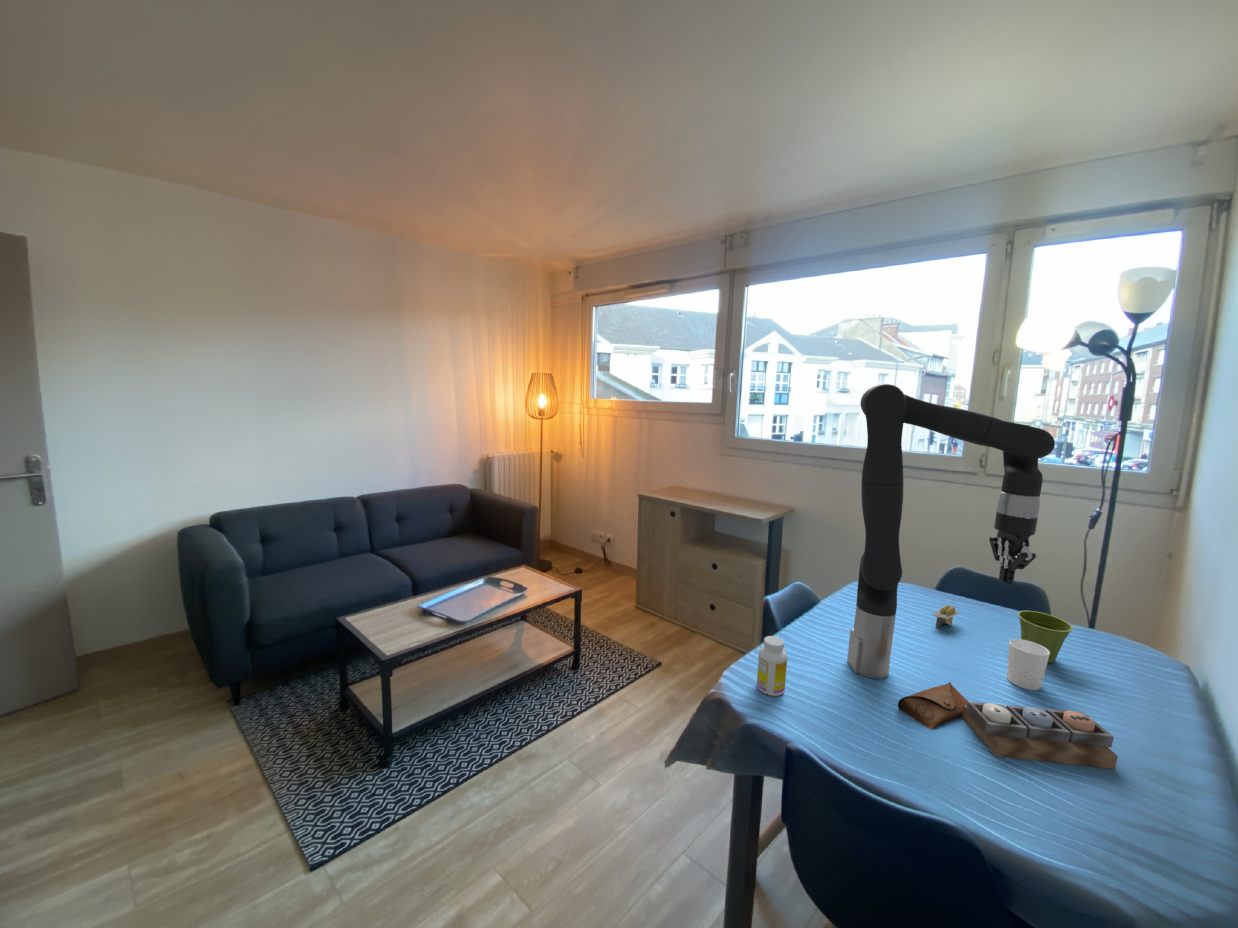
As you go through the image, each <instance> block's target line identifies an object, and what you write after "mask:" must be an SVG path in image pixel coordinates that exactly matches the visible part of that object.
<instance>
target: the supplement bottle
mask: <svg viewBox="0 0 1238 928" xmlns="http://www.w3.org/2000/svg"><path fill="white" fill-rule="evenodd" d="M787 665H788V654H787V652H786V651H785V641H784V640H783V639H782V638H781V637H778V636H774V635H768V636H765V637H764V638H763V646H761V647H760V649H759V651H758V664H757V675H756V676H757V678H756V686H757V688H758V690H759V691H760V692H761V691H762V692H761V693H763V694H765V695H767V694H768V696H770V697H777V696H781V695H782V694H784V693H785V690H786V679H787V667H788V666H787Z"/></svg>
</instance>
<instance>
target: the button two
mask: <svg viewBox="0 0 1238 928" xmlns="http://www.w3.org/2000/svg"><path fill="white" fill-rule="evenodd" d="M1024 707H1025V708H1023V713H1022V717H1023V718H1024V719H1025V720H1026V721H1027V722H1028V723H1029V724H1030V725H1031V726H1035V727H1045V728H1052V723H1053V718H1052V717H1051V716H1050V715H1049V714H1048V713H1046V712H1044V711H1042V710H1040V709H1037V708H1038V707H1032V706H1024Z"/></svg>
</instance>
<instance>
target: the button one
mask: <svg viewBox="0 0 1238 928" xmlns="http://www.w3.org/2000/svg"><path fill="white" fill-rule="evenodd" d="M985 703H986V704H984V705H983V710H982V714H983V715H984V716H985V717H986V718H987V719H988V720H989V721H990V722H994V723H1004V724H1010V721H1011V713H1010V712H1009V711H1008V710H1007V709H1005V708H1003V707H1001V706H999V705H1000V704H999V705H996V704H997V703H996V704H995V703H991V702H990V703H989V702H985Z"/></svg>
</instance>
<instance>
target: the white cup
mask: <svg viewBox="0 0 1238 928" xmlns="http://www.w3.org/2000/svg"><path fill="white" fill-rule="evenodd" d="M1008 643H1009V645H1008V655H1007V667H1006V668H1007V671H1006V679H1007V680H1008V681H1009V682H1010V683H1011V684H1013V685H1015V686H1016V687H1019V688H1021V689H1024V690H1029V691H1038V690H1041V688H1042V683H1043V680H1044V677H1045V674H1046V671H1047V667H1048V659H1049V655H1050V652H1049V650H1048V649H1046V648H1045V647H1043V646H1041V645H1039V644H1037V643H1034V642H1031V641H1027V640H1022V639H1021V638H1012V639H1010V640H1009V642H1008Z"/></svg>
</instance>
